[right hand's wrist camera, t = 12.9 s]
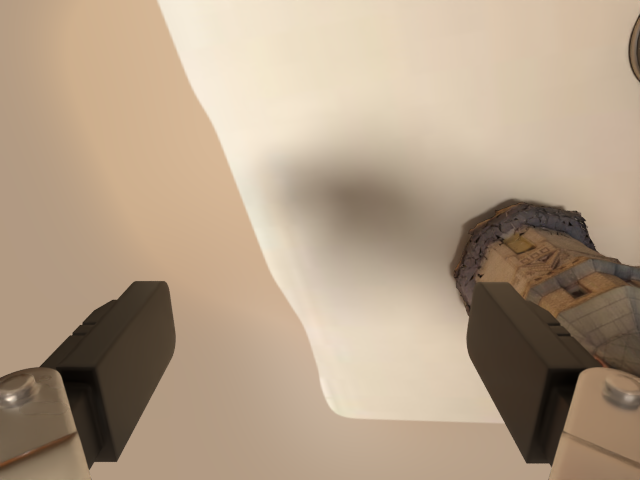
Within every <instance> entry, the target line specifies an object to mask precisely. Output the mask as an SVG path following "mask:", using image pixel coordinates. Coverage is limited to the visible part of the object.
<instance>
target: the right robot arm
mask: <svg viewBox="0 0 640 480" xmlns="http://www.w3.org/2000/svg"><path fill="white" fill-rule="evenodd" d="M630 58H631V63H632V67H633V70H634V72H635V74H636V76H637V77H638V79H639V80H640V17H639V19H638V21H637V23H636V26H635V28H634V31H633V34H632V38H631V44H630ZM560 324H561V323H560V322H559V321H558V320H557V319H556V318H555V317H554V316H553V315H552V314H551V313H550V312H549V311H547V310H546V309H544V308H542V307H540V306H539V305H537V304H535V303H533V302H532V301H526V300H525V299H524V298H523V297H522V296H521V295H520V294H519V293H518V292H517V291H516V290H515V289H514V287H513V286H512V285H511V284H510V283H508V282H477V283H476V284H475V286H474V289H473V295H472V302H471V308H470V315H469V322H468V329H467V349H468V353H469V356H470V359H471V361H472V362H473V364H474V366H475V368H476V370H477V372H478V374H479V376H480V377H481V379H482V381H483V383H484V385H485V387H486V389H487V390H488V392H489V394H490V396H491V398H492V400H493V402H494V404H495V405H496V407H497V409H498V411H499V413H500V415H501V417H502V418H503V420H504V422H505V424H506V426H507V428H508V430H509V431H510V433H511V435H512V437H513V439H514V441H515V443H516V445H517V446H518V448H519V450H520V452H521V454H522V456H523V458H524V459H525V461H526V463H549V464H550V465H551V467H552V469H551V472H550V476H549V479H548V480H640V378H639V377H637V376H635V375H632V374H629V373H627V372H624V371H620V370H616V369H611V368H604V367H603V366H602V365H601V364H600V363H599V362H598V361H597V360H596V359H595V358H594V357H593V356H592V355H591V354H590V353H589V352H588V351H587V350H586V349H585V348H584V347H583V346H582V345H581V344H580V343H579V342H578V341H577V340H576V339H575V338H574V337H571V334H570V333H569V332H568V331H567V330H566V329H565V328H564V327H563V326H561V325H560ZM175 341H176V335H175V327H174V320H173V313H172V306H171V299H170V292H169V287H168V285H167V283H166V282H165V281H135V282H133V283H132V284H131V285H130V286H129V287H128V289H127V290H126V291H125V292H124V293H123V294H122V295H121V296H120V297H119V298H118V299H117V300H112V301H110V302H108V303H106V304H105V305H103V306H101V307H99V308H98V309H96V310H94V311H93V312H92V313H91V314H90V315H89V316H88V318H86V320H85V321H84V322H83V324H82V325H80V326H79V327H78V328H77V329H76V330H75V331H74V332H73V335H72V336H69V337H68V338H67V339H66V340H65V341H64V342H63V343H62V344H61V345H60V346H59V347H58V348H57V349H56V350H55V351H54V352H53V354H52V355H51V356H50V357H49V358H48V359H47V360H46V361H45V362H44V363H43V364H42V365H41V366H40V367H36V368H29V369H24V370H20V371H16V372H13V373H11V374H8V375H5V376H3V377H1V378H0V480H92V479H91V476H90V472H89V470H90V468H91V466H92V465H93V463H94V462H117V460H118V458H119V457H120V455H121V453H122V451H123V449H124V447H125V445H126V443H127V441H128V440H129V438H130V436H131V434H132V432H133V430H134V428H135V426H136V424H137V423H138V421H139V419H140V417H141V415H142V413H143V411H144V409H145V407H146V406H147V404H148V402H149V400H150V398H151V396H152V394H153V392H154V391H155V389H156V387H157V385H158V383H159V381H160V379H161V377H162V375H163V374H164V372H165V370H166V368H167V366H168V364H169V362H170V360H171V358H172V356H173V353H174V349H175Z"/></svg>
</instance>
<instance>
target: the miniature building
mask: <svg viewBox="0 0 640 480" xmlns="http://www.w3.org/2000/svg"><path fill="white" fill-rule="evenodd" d="M495 215H496V216H494V217H492V218H490V219H488V220H485V221H483V222H481V223H478V224H477V225H476V227H475V228H474V229H470V231H469V233H470V234H471V235H472V237H471V239H470V240H469V242H468V243H467V245H466V246H465V249H464V252H463V254H462V257H461V260H460V262H459V264H458V266H457V267H456V269H455V271H454V278H456V280H457V282H456V288H457V289H458V290H459V291H460V293H461V296H463V299H464V305H465V308H466V312H467V314H468V315H470V308H471V302H472V295H473V289H474V286H475V284H476V283H477V282H482V281H483V282H508V283H510V284H511V285H512V286H513V287H514V289H515V290H516V291H517V292H518V293H519V294H520V295H521V296H522V297H523V298H524V299H525V300H526V301H532V302H533V303H535V304H537V305H539V306H540V307H542V308H544V309H546V310H547V311H549V312H550V313H551V314H552V315H553V316H554V317H555V318H556V319H557V320H558V321H559V322H560V323H561V324H560V325H561V326H563V327H564V328H565V329H566V330H567V331H568V332H569V333H570V334H571V337H574V338H575V339H576V340H577V341H578V342H579V343H580V344H581V345H582V346H583V347H584V348H585V349H586V350H587V351H588V352H589V353H590V354H591V355H592V356H593V357H594V358H595V359H596V360H597V361H598V362H599V363H600V364H601V365H602V366H603V367H604V368H611V369H616V370H620V371H624V372H627V373H629V374H632V375H635V376H637V377H639V378H640V266H635V267H634V266H629V265H624V264H621V262H620V261H619V260H618V259H615V258H610V257H605V256H603V255H601V254H600V253H599V252H597V251H596V249H595V246H594V244H593V242H592V241H591V239H590V237H589V234H588V231H587V229H586V224H585V223H584V221H586V220H585V219H584V218H583V217H581V213H578V212H577V211H564V210H559V209H555V208H551V207H543V206H542V207H536V206H533V205H528V204H526V203H525V202H520V203H518V204H516V205H512V206H509V207H506V208H504V209H501V210H499V211H497V210H495ZM515 218H516V219H519V220H515V221H514V219H515ZM530 218H531V219H530ZM526 219H527V223H526ZM540 220H541V222H540ZM509 221H510V222H509ZM505 222H506V223H505ZM580 222H581V223H580ZM582 223H583V224H582ZM530 224H531V225H530ZM540 225H542V226H541V227H540ZM500 226H501V231H500V230H499V228H500ZM533 226H535V228H534V227H533ZM581 226H582V227H581ZM526 227H527V230H528V231H527V230H526ZM583 228H584V229H583ZM587 228H588V227H587ZM545 229H546V230H545ZM485 231H486V232H485ZM526 231H527V232H526ZM525 232H526V233H525ZM550 232H551V233H552V235H551V233H550ZM469 233H468V234H469ZM514 233H515V234H514ZM520 233H524V234H523V235H521V236H520V235H519V234H520ZM560 233H561V234H560ZM562 234H563V235H564V236H563V235H562ZM480 235H481V236H480ZM492 235H493V237H492ZM496 235H497V236H499V237H501V238H499V239H497V237H496ZM479 236H480V238H479V240H478V243H476V241H477V240H476V239H477V238H478V237H479ZM565 236H566V237H565ZM488 238H490V239H488ZM494 238H495V239H494ZM502 238H503V239H504V240H502ZM517 238H518V239H517ZM519 238H520V240H519ZM505 239H506V240H505ZM486 240H487V241H486ZM493 240H495V241H493ZM500 240H502V241H503V244H502V242H501V241H500ZM515 240H516V241H515ZM485 241H486V242H485ZM484 243H485V244H484ZM477 244H478V245H477ZM499 244H501V246H500V245H499ZM476 245H477V246H476ZM475 247H476V248H475ZM480 248H481V253H480V254H479V252H480ZM494 248H495V249H496V250H495V249H494ZM488 249H489V250H488ZM482 251H483V252H482ZM489 251H490V252H489ZM479 255H481V256H482V257H480V256H479ZM483 255H484V256H485V257H486V258H487V260H486V258H485V257H484V256H483ZM472 256H473V257H474V258H475V259H477V260H475V259H474V258H472ZM478 258H479V259H478ZM480 258H481V259H482V260H481V259H480ZM475 261H476V263H475ZM475 264H476V265H475ZM477 264H478V265H477ZM464 265H465V266H464ZM462 266H464V267H462ZM478 267H480V268H479V269H478ZM474 273H475V274H474ZM478 274H480V275H482V274H484V275H483V276H482V277H481V278H480V277H478ZM480 275H479V276H480Z"/></svg>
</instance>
